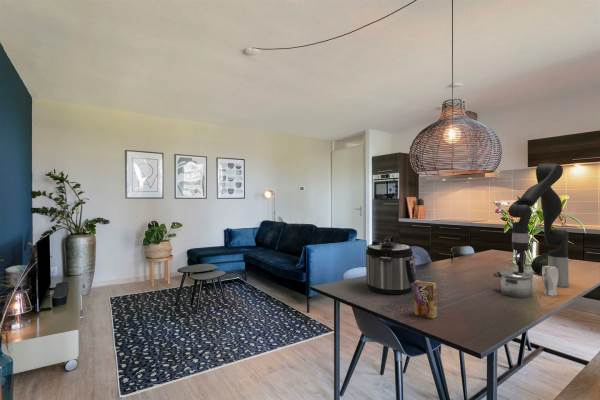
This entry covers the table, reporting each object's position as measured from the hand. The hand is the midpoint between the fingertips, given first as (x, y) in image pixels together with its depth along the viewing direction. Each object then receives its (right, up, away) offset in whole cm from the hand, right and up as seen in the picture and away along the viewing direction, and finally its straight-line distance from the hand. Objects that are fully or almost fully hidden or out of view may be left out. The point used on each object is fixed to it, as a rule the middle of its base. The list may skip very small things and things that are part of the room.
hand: (521, 272), depth 167 cm
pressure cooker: (-67, -14, +16) cm, 70 cm away
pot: (-2, -12, +3) cm, 13 cm away
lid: (-2, -2, +2) cm, 3 cm away
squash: (+47, -11, +42) cm, 64 cm away
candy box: (-63, -13, -27) cm, 70 cm away
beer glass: (+16, -12, 0) cm, 20 cm away
